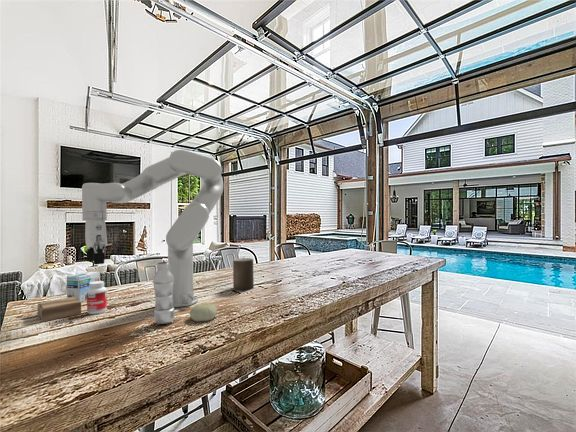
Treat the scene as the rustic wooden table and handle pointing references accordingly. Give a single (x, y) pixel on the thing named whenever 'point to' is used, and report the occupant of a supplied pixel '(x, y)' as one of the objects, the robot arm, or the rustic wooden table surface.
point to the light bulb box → (81, 284)
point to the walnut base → (58, 308)
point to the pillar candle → (243, 274)
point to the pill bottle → (96, 298)
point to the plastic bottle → (163, 294)
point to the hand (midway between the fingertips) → (95, 262)
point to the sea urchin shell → (203, 312)
